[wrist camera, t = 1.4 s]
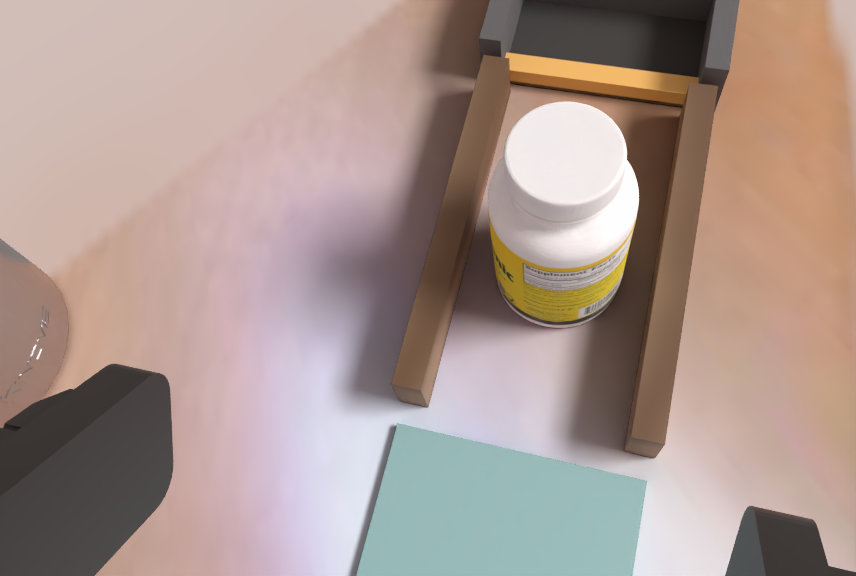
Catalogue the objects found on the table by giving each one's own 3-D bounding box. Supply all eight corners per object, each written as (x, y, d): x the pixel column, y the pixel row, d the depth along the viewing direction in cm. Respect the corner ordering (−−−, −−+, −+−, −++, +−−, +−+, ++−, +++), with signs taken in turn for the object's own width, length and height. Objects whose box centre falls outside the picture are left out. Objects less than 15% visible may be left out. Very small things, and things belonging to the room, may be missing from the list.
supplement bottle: (500, 215, 37) (491, 78, 28) (622, 222, 36) (654, 83, 27) (488, 327, 35) (475, 218, 26) (618, 337, 34) (651, 228, 25)
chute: (400, 401, 34) (391, 383, 31) (486, 88, 39) (483, 54, 37) (654, 458, 32) (664, 444, 29) (706, 119, 37) (717, 86, 35)
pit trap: (482, 79, 40) (479, 38, 37) (508, -15, 42) (507, -61, 39) (714, 111, 37) (729, 70, 35) (729, 10, 40) (744, -36, 37)
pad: (343, 629, 30) (341, 629, 30) (398, 425, 33) (397, 423, 33) (611, 706, 28) (611, 707, 28) (645, 482, 31) (647, 480, 31)
